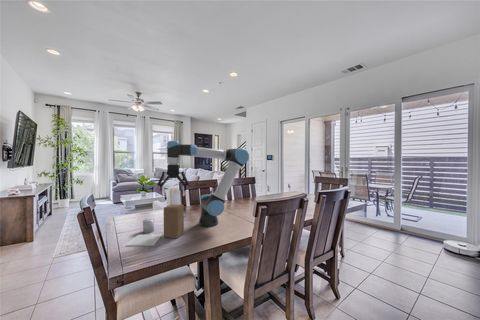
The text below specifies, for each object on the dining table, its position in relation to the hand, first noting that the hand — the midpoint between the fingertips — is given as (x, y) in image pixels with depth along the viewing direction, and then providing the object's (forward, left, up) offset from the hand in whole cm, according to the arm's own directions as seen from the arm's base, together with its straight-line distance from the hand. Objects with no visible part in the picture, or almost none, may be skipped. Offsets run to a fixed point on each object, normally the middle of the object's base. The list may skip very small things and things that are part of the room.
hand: (173, 196), depth 136 cm
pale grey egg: (+20, -9, -27) cm, 34 cm away
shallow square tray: (+16, +7, -27) cm, 32 cm away
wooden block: (0, 0, -27) cm, 27 cm away
